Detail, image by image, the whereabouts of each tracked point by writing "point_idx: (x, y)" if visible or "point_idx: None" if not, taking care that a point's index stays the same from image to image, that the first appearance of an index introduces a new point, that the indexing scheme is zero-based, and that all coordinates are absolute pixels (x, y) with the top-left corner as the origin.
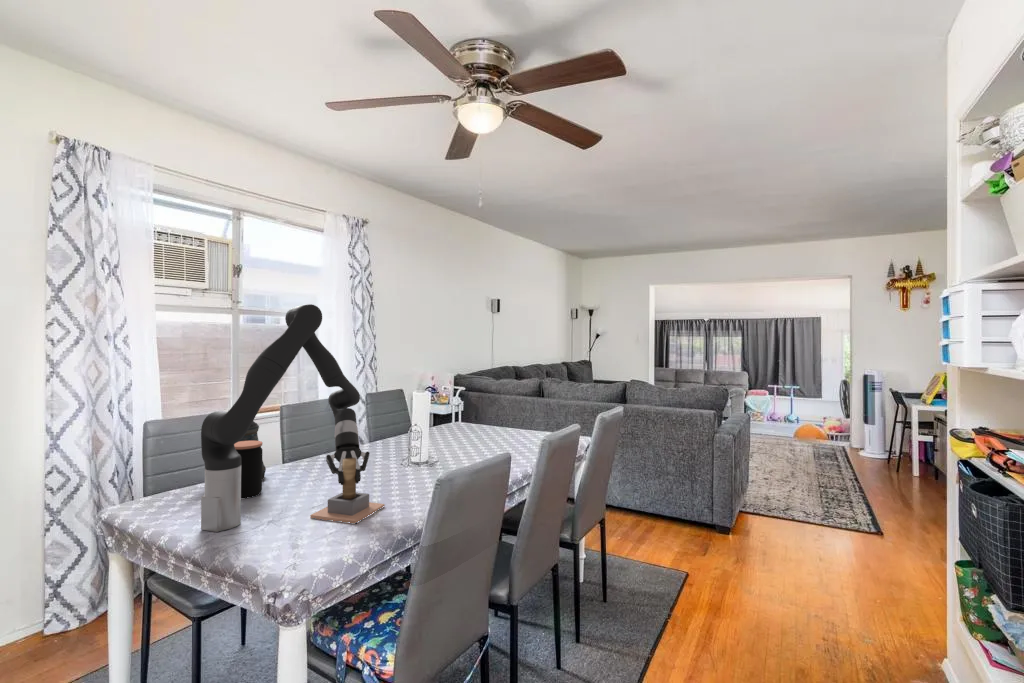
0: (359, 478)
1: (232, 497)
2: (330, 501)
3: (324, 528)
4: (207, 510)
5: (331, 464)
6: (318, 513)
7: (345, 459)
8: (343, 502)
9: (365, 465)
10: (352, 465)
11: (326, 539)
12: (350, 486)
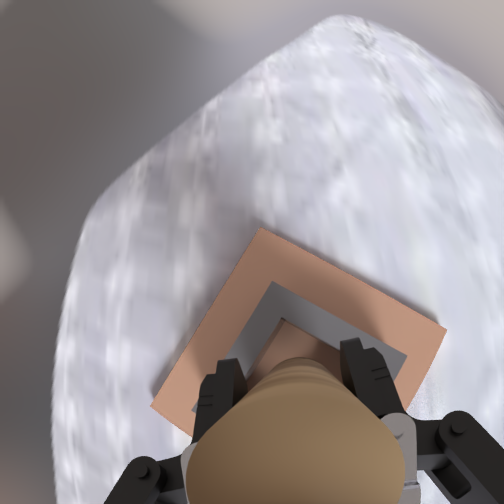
0: (211, 378)
1: None
2: (391, 347)
3: (370, 212)
4: None
5: (494, 455)
6: (421, 344)
7: (361, 485)
8: (322, 310)
9: (128, 469)
10: (250, 393)
11: (339, 128)
12: (287, 363)
